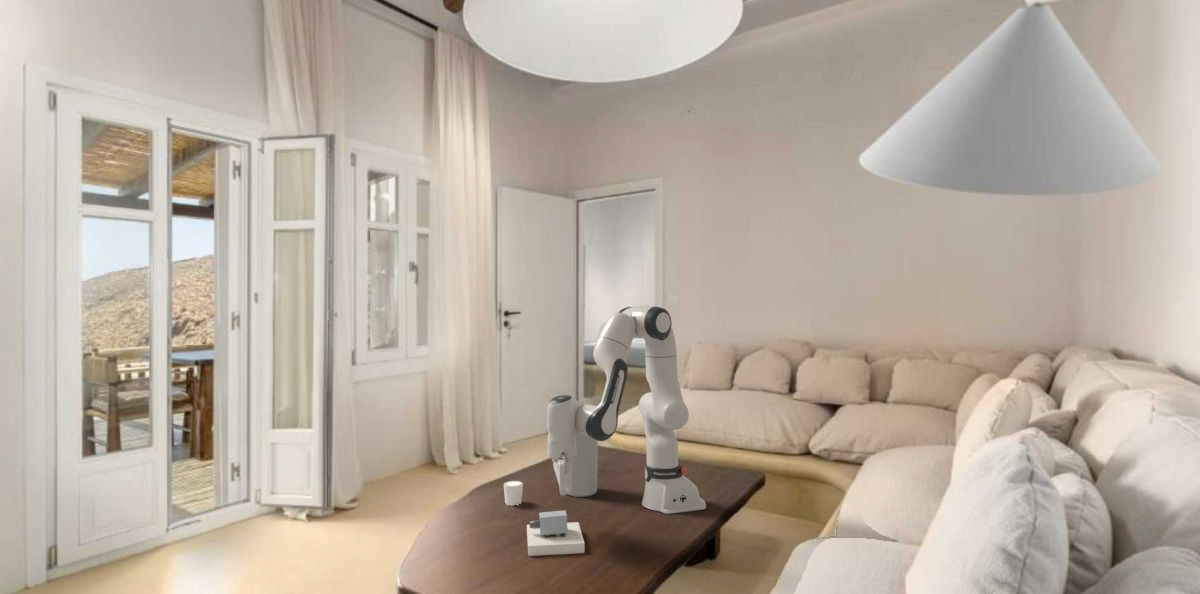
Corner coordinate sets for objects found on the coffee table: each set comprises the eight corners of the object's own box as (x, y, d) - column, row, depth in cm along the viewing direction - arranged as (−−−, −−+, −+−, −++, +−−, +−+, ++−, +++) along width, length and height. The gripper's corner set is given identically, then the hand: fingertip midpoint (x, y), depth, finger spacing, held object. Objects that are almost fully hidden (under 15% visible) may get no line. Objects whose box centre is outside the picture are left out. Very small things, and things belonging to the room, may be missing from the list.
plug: (566, 537, 184) (565, 510, 184) (568, 543, 178) (566, 515, 179) (530, 540, 182) (529, 513, 183) (530, 547, 176) (529, 518, 177)
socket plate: (578, 531, 189) (578, 519, 189) (584, 552, 174) (584, 540, 173) (526, 533, 187) (526, 522, 187) (528, 555, 171) (528, 543, 171)
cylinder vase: (598, 487, 232) (599, 422, 232) (595, 498, 220) (595, 429, 220) (566, 486, 234) (567, 421, 233) (561, 496, 221) (561, 428, 221)
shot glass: (519, 507, 210) (519, 487, 210) (500, 505, 211) (500, 485, 211) (525, 500, 217) (525, 481, 217) (507, 499, 218) (507, 479, 218)
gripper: (576, 457, 177) (577, 504, 177) (568, 440, 197) (569, 482, 197) (554, 459, 175) (555, 506, 176) (548, 441, 196) (550, 484, 196)
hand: (562, 493), depth 187 cm, fingers closed
